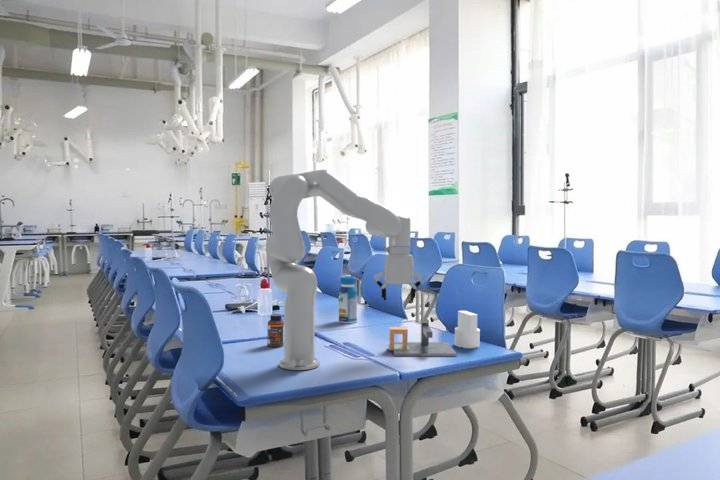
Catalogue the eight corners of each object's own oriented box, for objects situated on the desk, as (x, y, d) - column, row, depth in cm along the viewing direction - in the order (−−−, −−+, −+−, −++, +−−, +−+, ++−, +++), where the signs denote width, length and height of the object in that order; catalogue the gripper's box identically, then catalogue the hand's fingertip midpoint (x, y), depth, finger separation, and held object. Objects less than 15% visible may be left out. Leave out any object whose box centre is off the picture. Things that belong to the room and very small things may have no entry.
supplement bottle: (268, 348, 197) (268, 316, 196) (266, 344, 202) (266, 313, 202) (285, 347, 198) (285, 315, 198) (282, 343, 204) (282, 312, 204)
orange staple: (407, 348, 192) (407, 329, 192) (390, 348, 192) (390, 329, 192) (406, 345, 196) (406, 327, 196) (389, 345, 196) (389, 327, 196)
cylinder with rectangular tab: (450, 343, 205) (450, 311, 205) (471, 341, 208) (471, 310, 208) (462, 349, 197) (463, 315, 196) (484, 347, 200) (485, 314, 199)
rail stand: (456, 356, 186) (456, 330, 186) (390, 356, 186) (390, 329, 186) (448, 345, 202) (448, 320, 202) (386, 345, 202) (387, 320, 202)
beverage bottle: (357, 323, 240) (357, 278, 240) (337, 323, 241) (337, 278, 240) (357, 320, 249) (357, 276, 248) (338, 319, 249) (339, 275, 248)
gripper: (374, 251, 189) (374, 301, 189) (425, 252, 189) (424, 301, 190) (373, 250, 196) (373, 298, 197) (422, 250, 196) (421, 298, 197)
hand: (398, 299), depth 193 cm, fingers open, 9 cm apart
